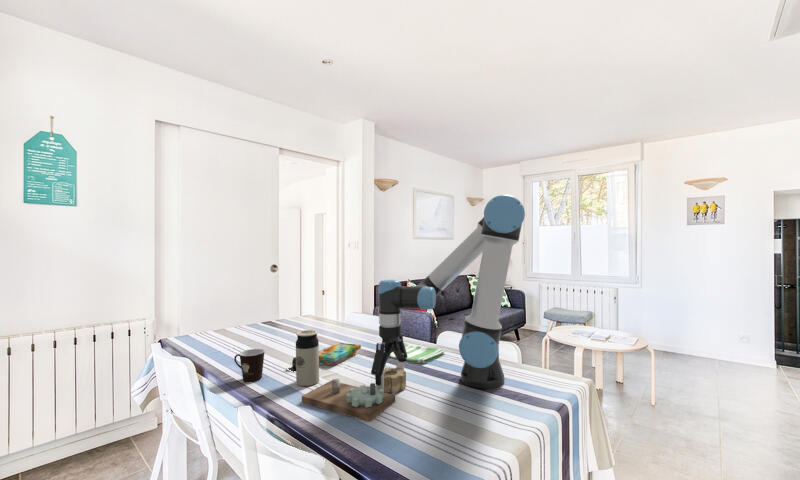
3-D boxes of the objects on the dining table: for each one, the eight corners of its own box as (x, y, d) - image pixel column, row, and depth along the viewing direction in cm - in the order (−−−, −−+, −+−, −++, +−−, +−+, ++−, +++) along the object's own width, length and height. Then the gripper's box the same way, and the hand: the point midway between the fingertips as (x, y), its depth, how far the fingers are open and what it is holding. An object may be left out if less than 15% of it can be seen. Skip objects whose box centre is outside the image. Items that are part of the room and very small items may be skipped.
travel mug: (311, 376, 135) (311, 328, 135) (323, 382, 129) (322, 332, 129) (292, 382, 129) (291, 332, 129) (303, 388, 123) (302, 336, 124)
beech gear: (411, 384, 125) (410, 370, 125) (396, 395, 116) (396, 380, 116) (386, 379, 130) (386, 365, 130) (370, 389, 122) (370, 375, 122)
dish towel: (403, 346, 173) (403, 340, 173) (445, 355, 159) (445, 348, 159) (379, 356, 159) (379, 349, 159) (423, 366, 144) (422, 359, 144)
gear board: (395, 401, 112) (395, 382, 112) (370, 421, 100) (369, 400, 100) (331, 386, 125) (330, 369, 125) (301, 402, 113) (301, 383, 113)
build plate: (289, 375, 138) (289, 363, 138) (280, 370, 143) (279, 359, 143) (317, 366, 147) (316, 355, 147) (306, 362, 152) (306, 352, 152)
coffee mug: (269, 378, 133) (268, 351, 133) (246, 385, 127) (245, 357, 127) (254, 371, 141) (254, 346, 141) (232, 377, 135) (232, 351, 135)
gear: (390, 395, 111) (390, 379, 111) (370, 410, 102) (369, 393, 102) (361, 388, 117) (360, 373, 117) (339, 402, 107) (338, 385, 107)
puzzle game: (311, 352, 149) (339, 340, 167) (311, 364, 149) (339, 350, 167) (334, 356, 144) (360, 343, 162) (334, 368, 144) (361, 353, 162)
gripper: (398, 316, 136) (399, 372, 136) (359, 331, 115) (360, 398, 115) (416, 318, 132) (416, 376, 132) (379, 334, 111) (380, 403, 111)
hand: (390, 386), depth 123 cm, fingers open, 13 cm apart
